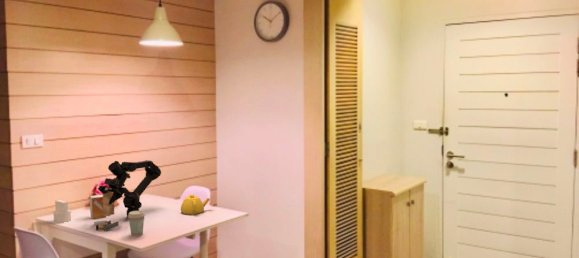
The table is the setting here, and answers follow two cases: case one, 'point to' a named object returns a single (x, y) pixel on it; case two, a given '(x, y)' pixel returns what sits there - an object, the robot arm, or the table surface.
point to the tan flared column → (108, 207)
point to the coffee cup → (136, 222)
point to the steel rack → (109, 225)
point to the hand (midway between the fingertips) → (106, 203)
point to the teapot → (193, 205)
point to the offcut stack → (101, 226)
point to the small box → (96, 207)
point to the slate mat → (99, 222)
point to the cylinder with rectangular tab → (62, 212)
